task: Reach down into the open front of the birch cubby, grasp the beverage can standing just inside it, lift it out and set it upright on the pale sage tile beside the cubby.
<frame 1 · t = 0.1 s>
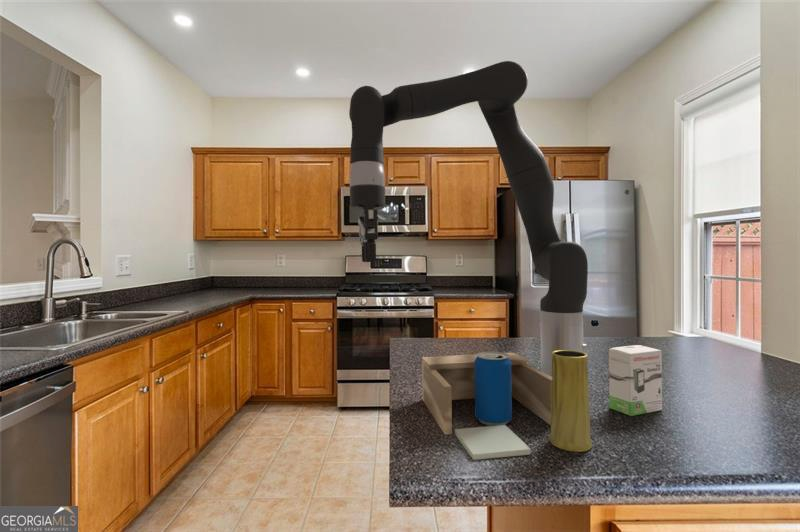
hand: (368, 261, 85), 29 cm above the countertop, fingers open, 8 cm apart
tile: (490, 443, 63), on the countertop
beverage can: (493, 421, 72), on the countertop
cubby: (485, 412, 76), on the countertop
vase: (570, 444, 63), on the countertop
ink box: (635, 410, 77), on the countertop
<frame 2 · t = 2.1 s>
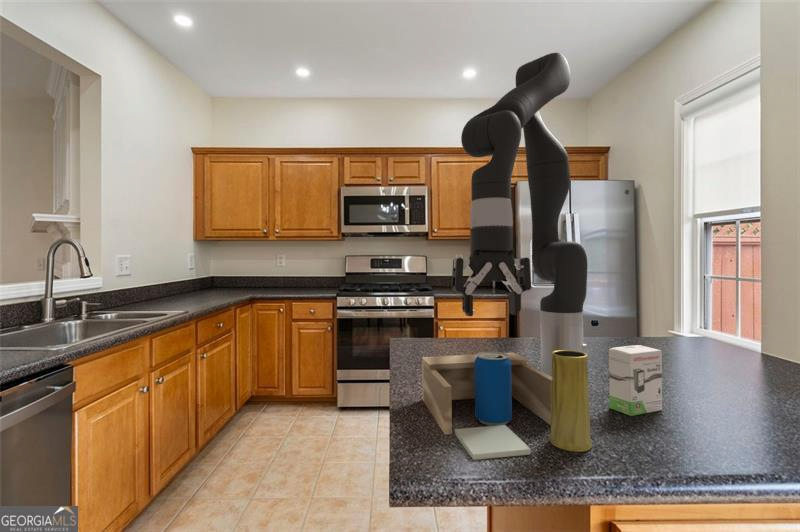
hand: (491, 315, 72), 19 cm above the countertop, fingers open, 8 cm apart
nothing on the countertop moved.
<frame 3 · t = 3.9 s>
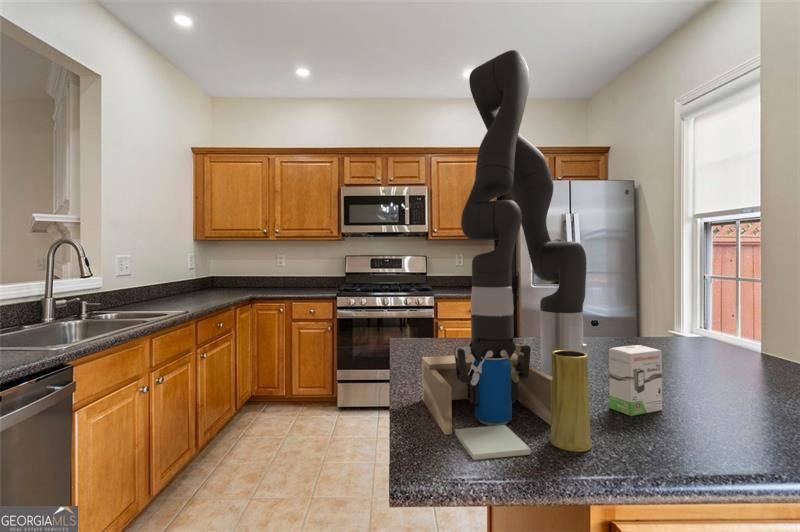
hand: (492, 402, 72), 3 cm above the countertop, fingers closed on beverage can, 6 cm apart
beverage can: (493, 421, 72), on the countertop, touching gripper
everything else where it was.
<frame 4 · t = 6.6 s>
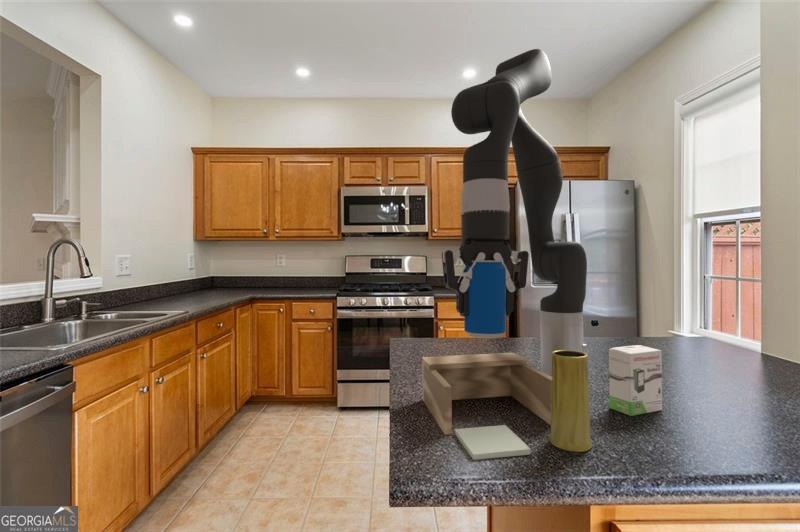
hand: (484, 315, 63), 20 cm above the countertop, fingers closed on beverage can, 6 cm apart
beverage can: (484, 337, 63), point 17 cm above the countertop, touching gripper
everything else where it was.
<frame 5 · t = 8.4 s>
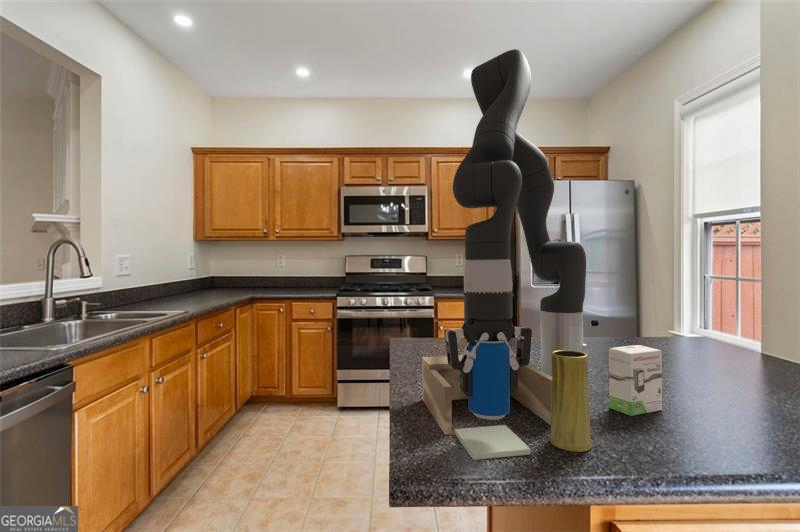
hand: (488, 393, 63), 8 cm above the countertop, fingers closed on beverage can, 6 cm apart
beverage can: (489, 414, 63), point 5 cm above the countertop, touching gripper
everything else where it was.
when the fingers open (5 cm above the countertop, at t = 9.5 s): beverage can stays where it is, resting on tile.
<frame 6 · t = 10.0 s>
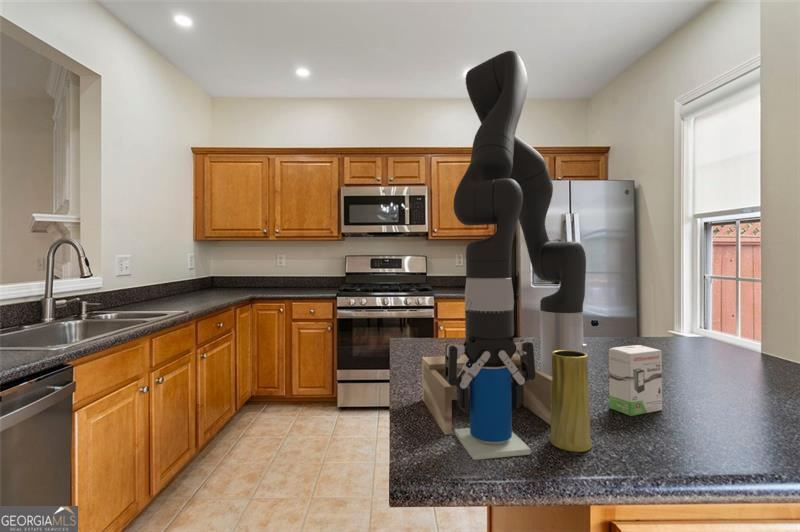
hand: (490, 408, 63), 6 cm above the countertop, fingers open, 8 cm apart
beverage can: (490, 439, 63), point 1 cm above the countertop, touching tile
everything else where it was.
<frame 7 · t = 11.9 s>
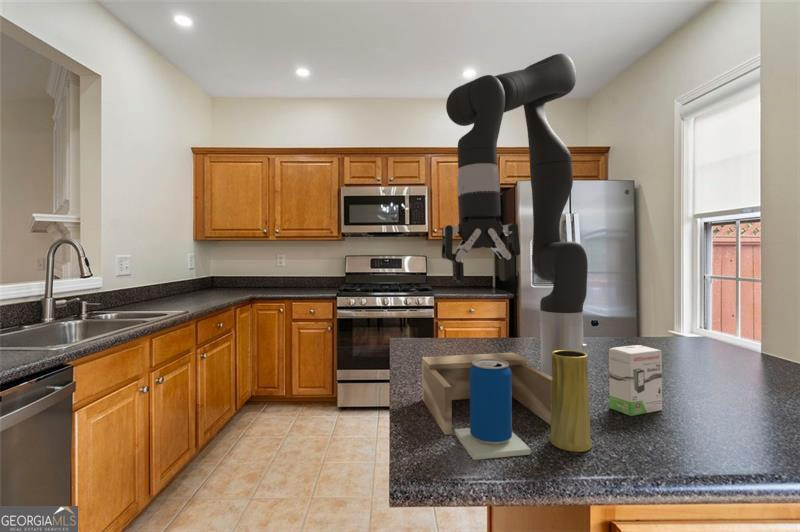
hand: (482, 281, 72), 25 cm above the countertop, fingers open, 8 cm apart
nothing on the countertop moved.
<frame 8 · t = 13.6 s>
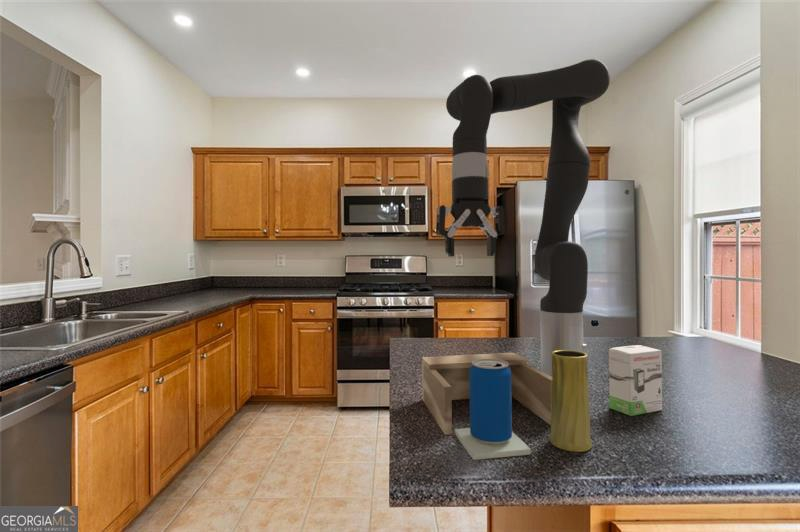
hand: (470, 256, 83), 30 cm above the countertop, fingers open, 8 cm apart
nothing on the countertop moved.
at the end: beverage can 0.1 cm from the tile (horizontally); beverage can tilted 0°; the gripper is holding nothing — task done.
